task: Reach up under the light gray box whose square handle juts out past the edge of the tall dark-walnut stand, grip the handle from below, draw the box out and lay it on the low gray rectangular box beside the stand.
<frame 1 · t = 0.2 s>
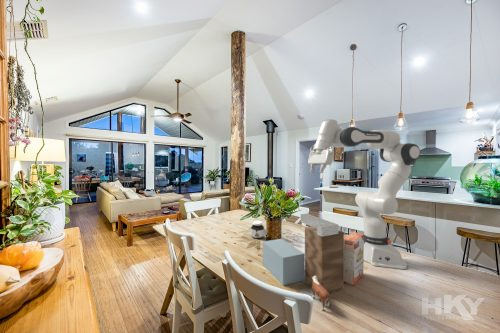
hand: (316, 172, 118), 52 cm above the table, tool tilted 15°, fingers open, 8 cm apart
gray rectangular box: (282, 271, 113), on the table
light gray box: (317, 227, 104), point 26 cm above the table, touching stand
cracker box: (353, 278, 107), on the table
spread jar: (259, 237, 166), on the table
stand: (323, 285, 101), on the table
bull figurine: (319, 301, 89), on the table
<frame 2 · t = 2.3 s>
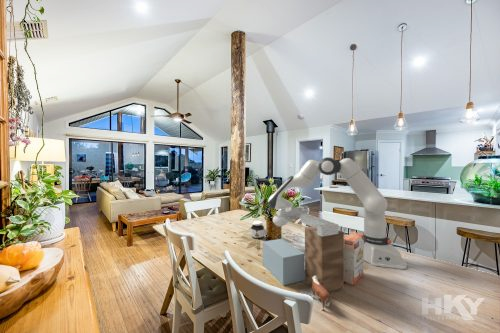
hand: (299, 207, 125), 31 cm above the table, tool pointing upward, fingers open, 8 cm apart
nothing on the table moved.
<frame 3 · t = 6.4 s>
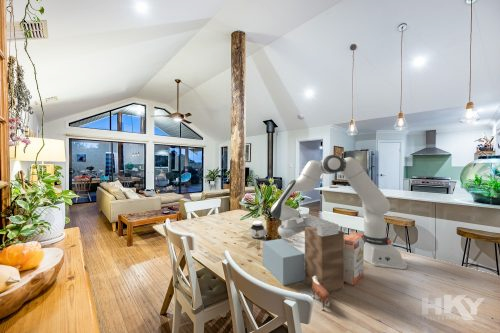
hand: (308, 218, 111), 28 cm above the table, tool pointing upward, fingers closed on light gray box, 4 cm apart
light gray box: (317, 227, 104), point 26 cm above the table, touching gripper, stand
everything else where it was.
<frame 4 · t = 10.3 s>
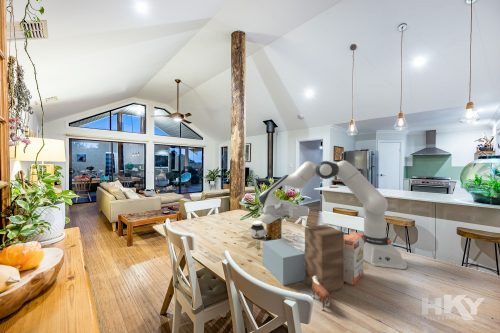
hand: (285, 204, 122), 34 cm above the table, tool pointing upward, fingers closed on light gray box, 4 cm apart
light gray box: (292, 211, 115), point 31 cm above the table, touching gripper
everything else where it was.
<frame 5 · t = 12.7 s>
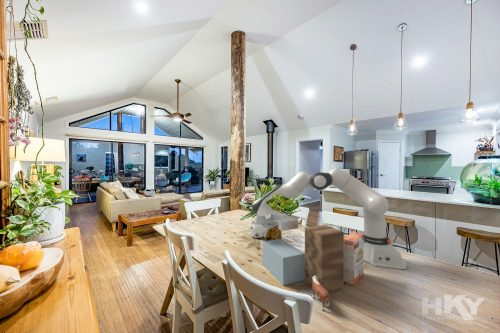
hand: (275, 214, 119), 28 cm above the table, tool pointing upward, fingers closed on light gray box, 4 cm apart
light gray box: (282, 222, 113), point 26 cm above the table, touching gripper
everything else where it was.
when the fingers open (18 cm above the table, at t = 14.7 s): light gray box drops 3 cm, resting on gray rectangular box.
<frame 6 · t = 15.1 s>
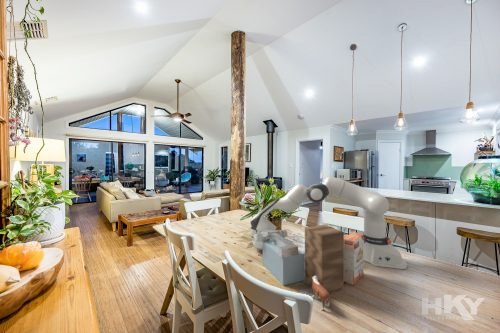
hand: (276, 232, 120), 18 cm above the table, tool pointing upward, fingers open, 8 cm apart
light gray box: (282, 246, 113), point 13 cm above the table, touching gray rectangular box
everything else where it was.
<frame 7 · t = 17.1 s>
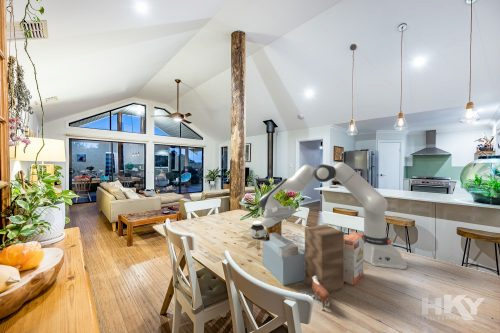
hand: (285, 207, 124), 31 cm above the table, tool pointing upward, fingers open, 8 cm apart
nothing on the table moved.
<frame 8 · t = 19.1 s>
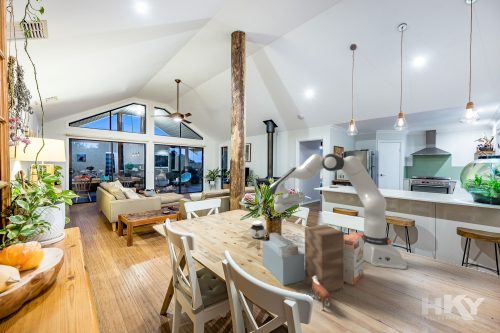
hand: (295, 193, 129), 38 cm above the table, tool pointing upward, fingers open, 8 cm apart
nothing on the table moved.
at the end: light gray box inside the target area (0.2 cm from its centre), point 13.0 cm above the table; the gripper is holding nothing; light gray box moved 22.2 cm from its start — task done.
